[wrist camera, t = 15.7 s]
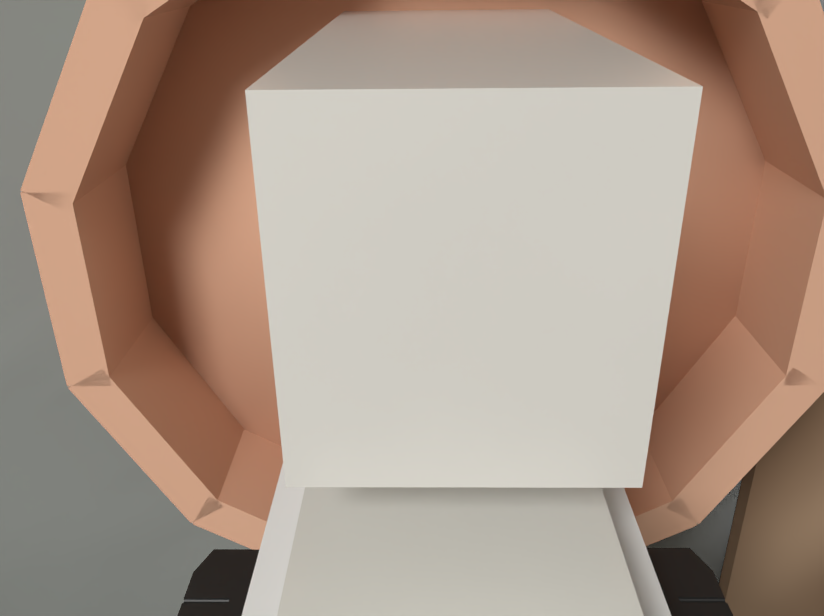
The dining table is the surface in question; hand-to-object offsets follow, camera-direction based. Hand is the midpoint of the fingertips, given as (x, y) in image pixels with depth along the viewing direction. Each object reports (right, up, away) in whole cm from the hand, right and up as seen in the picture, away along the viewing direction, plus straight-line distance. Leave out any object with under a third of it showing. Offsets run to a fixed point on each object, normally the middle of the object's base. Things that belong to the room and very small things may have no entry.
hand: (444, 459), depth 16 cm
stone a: (0, +7, +2) cm, 8 cm away
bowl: (0, +5, +4) cm, 6 cm away
